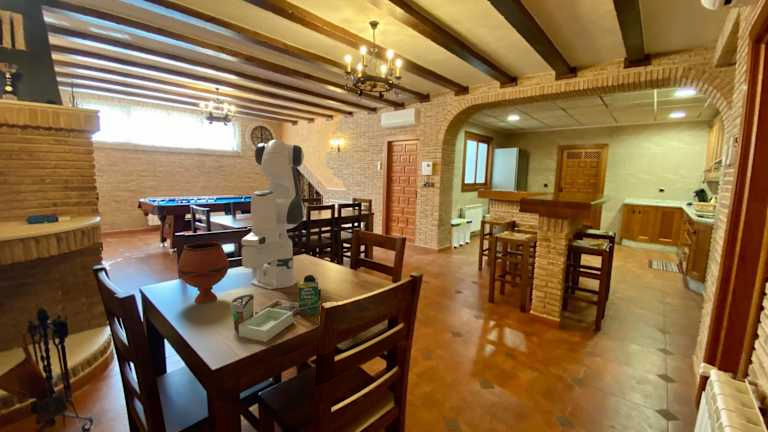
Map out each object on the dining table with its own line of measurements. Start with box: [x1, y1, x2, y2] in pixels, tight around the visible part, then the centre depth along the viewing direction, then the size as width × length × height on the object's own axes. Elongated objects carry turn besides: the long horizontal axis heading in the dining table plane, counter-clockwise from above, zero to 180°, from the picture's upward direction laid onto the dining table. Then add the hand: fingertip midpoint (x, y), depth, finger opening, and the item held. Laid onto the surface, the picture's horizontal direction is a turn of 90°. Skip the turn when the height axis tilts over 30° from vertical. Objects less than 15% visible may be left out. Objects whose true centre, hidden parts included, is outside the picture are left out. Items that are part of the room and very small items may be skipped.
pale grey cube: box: [280, 303, 293, 312], centre depth 128 cm, size 4×4×4 cm
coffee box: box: [297, 281, 320, 316], centre depth 126 cm, size 8×3×13 cm, turn 94°
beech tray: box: [254, 299, 299, 316], centre depth 129 cm, size 14×14×2 cm
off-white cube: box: [260, 264, 276, 282], centre depth 112 cm, size 4×4×5 cm
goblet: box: [177, 241, 230, 305], centre depth 137 cm, size 19×19×25 cm
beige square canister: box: [303, 274, 322, 305], centre depth 139 cm, size 7×7×12 cm
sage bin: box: [238, 307, 294, 343], centre depth 113 cm, size 11×16×4 cm
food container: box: [229, 293, 255, 332], centre depth 115 cm, size 12×6×10 cm, turn 5°
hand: (267, 274), depth 112 cm, fingers closed on off-white cube, 4 cm apart
